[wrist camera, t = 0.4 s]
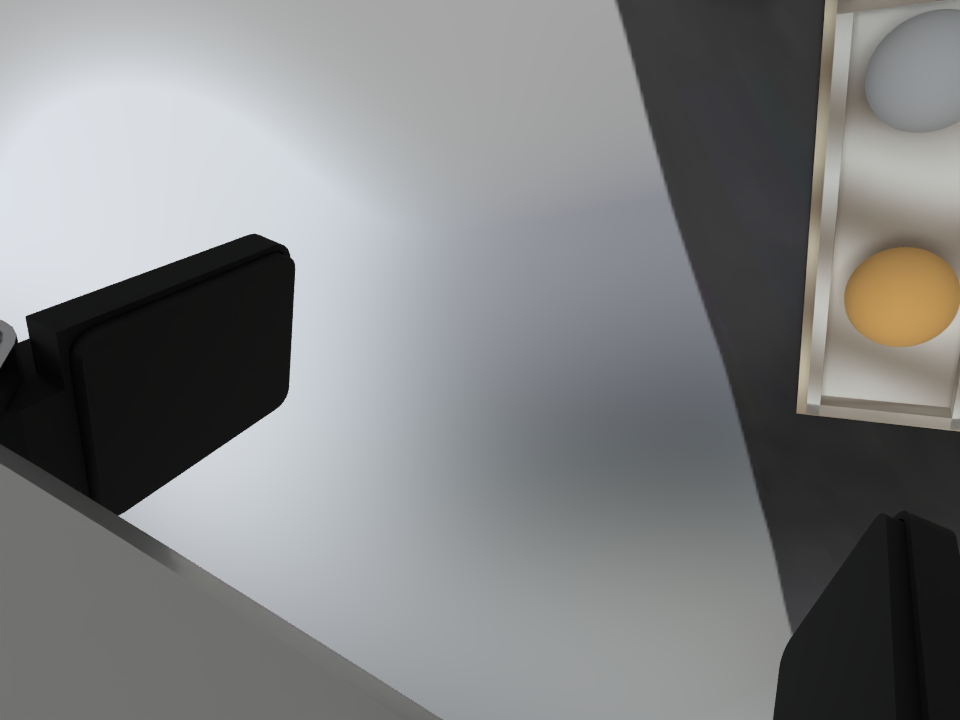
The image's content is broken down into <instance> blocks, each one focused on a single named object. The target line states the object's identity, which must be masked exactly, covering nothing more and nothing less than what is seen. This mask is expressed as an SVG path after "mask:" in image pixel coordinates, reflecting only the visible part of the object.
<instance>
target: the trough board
mask: <svg viewBox="0 0 960 720" xmlns="http://www.w3.org/2000/svg"><path fill="white" fill-rule="evenodd" d="M938 9H957V10H960V0H825V13H824V27H823V42H822V56H821V70H820V85H819V99H818V113H817V128H816V142H815V156H814V170H813V185H812V199H811V213H810V228H809V242H808V256H807V270H806V285H805V299H804V313H803V328H802V342H801V356H800V371H799V385H798V399H797V413H798V414H807V415H816V416H825V417H835V418H844V419H853V420H862V421H871V422H880V423H889V424H898V425H907V426H916V427H926V428H935V429H944V430H953V431H960V306H959V309H958V312H957V314H956V316H955V318H954V320H953V321H952V323H951V324H950V325H949V326H948V327H947V328H946V329H945V330H944V331H943V332H942V333H941V334H939V335H938V336H936V337H935V338H933V339H931V340H929V341H927V342H925V343H922V344H919V345H915V346H909V347H891V346H885V345H881V344H878V343H875V342H873V341H871V340H869V339H868V338H866V337H864V336H863V335H862V334H860V333H859V332H858V331H857V330H856V329H855V328H854V326H853V325H852V323H851V322H850V320H849V318H848V316H847V314H846V311H845V305H844V293H845V289H846V285H847V282H848V280H849V278H850V276H851V275H852V273H853V272H854V271H855V269H856V268H857V267H858V266H859V265H860V264H861V263H862V262H864V261H865V260H866V259H868V258H869V257H871V256H872V255H874V254H876V253H879V252H881V251H884V250H888V249H891V248H898V247H913V248H919V249H923V250H926V251H929V252H931V253H934V254H935V255H937V256H939V257H940V258H942V259H943V260H944V261H946V262H947V263H948V264H949V265H950V266H951V268H952V269H953V271H954V272H955V274H956V276H957V278H958V280H959V283H960V121H959V122H958V123H956V124H953V125H951V126H949V127H946V128H943V129H940V130H936V131H932V132H924V133H913V132H905V131H901V130H898V129H895V128H893V127H891V126H889V125H887V124H885V123H884V122H883V121H882V120H880V119H879V118H878V117H877V116H876V115H875V113H874V112H873V110H872V109H871V107H870V105H869V103H868V101H867V97H866V94H865V75H866V70H867V66H868V63H869V61H870V59H871V56H872V54H873V53H874V51H875V49H876V48H877V46H878V45H879V44H880V42H881V41H882V40H883V39H884V38H885V37H886V36H887V35H888V34H889V33H890V32H891V31H892V30H893V29H894V28H896V27H897V26H898V25H900V24H901V23H903V22H904V21H906V20H908V19H910V18H912V17H914V16H916V15H919V14H921V13H925V12H928V11H932V10H938Z"/></svg>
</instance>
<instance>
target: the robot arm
mask: <svg viewBox="0 0 960 720" xmlns="http://www.w3.org/2000/svg"><path fill="white" fill-rule="evenodd" d="M294 281H295V263H294V261H293V260H292V259H291V258H290V254H289V251H288V249H287V248H286V247H285V246H284V245H281V244H279V243H277V242H274V241H272V240H269V239H267V238H265V237H263V236H260V235H257V234H250V235H247V236H244V237H242V238H239V239H236V240H233V241H231V242H228V243H225V244H222V245H220V246H217V247H214V248H211V249H209V250H206V251H203V252H200V253H198V254H195V255H192V256H190V257H187V258H184V259H181V260H179V261H176V262H173V263H170V264H168V265H165V266H162V267H159V268H157V269H154V270H151V271H149V272H146V273H143V274H141V275H138V276H135V277H132V278H129V279H127V280H124V281H122V282H118V283H116V284H113V285H110V286H107V287H105V288H102V289H99V290H97V291H94V292H91V293H89V294H85V295H83V296H80V297H77V298H75V299H72V300H69V301H66V302H64V303H61V304H58V305H55V306H53V307H50V308H47V309H44V310H42V311H39V312H36V313H33V314H31V315H28V316H26V322H27V327H28V332H29V338H30V339H27V340H25V341H22V342H20V343H18V340H17V336H16V333H15V331H14V329H13V327H12V326H10V325H9V324H7V323H6V322H4V321H2V320H0V720H442V719H441V718H439V717H438V716H436V715H434V714H433V713H431V712H430V711H428V710H427V709H425V708H424V707H422V706H420V705H419V704H417V703H416V702H414V701H412V700H411V699H409V698H408V697H406V696H405V695H403V694H401V693H400V692H398V691H397V690H395V689H393V688H392V687H390V686H389V685H387V684H386V683H384V682H383V681H381V680H379V679H378V678H376V677H375V676H373V675H372V674H370V673H368V672H367V671H365V670H364V669H362V668H360V667H359V666H357V665H356V664H354V663H352V662H351V661H349V660H348V659H346V658H344V657H343V656H341V655H340V654H338V653H337V652H335V651H333V650H332V649H330V648H329V647H327V646H325V645H324V644H322V643H321V642H319V641H317V640H316V639H314V638H312V637H311V636H309V635H308V634H306V633H305V632H303V631H302V630H300V629H298V628H297V627H295V626H294V625H292V624H290V623H288V622H287V621H286V620H284V619H282V618H281V617H279V616H278V615H276V614H274V613H273V612H271V611H270V610H268V609H266V608H265V607H263V606H261V605H260V604H258V603H257V602H255V601H254V600H252V599H251V598H249V597H247V596H246V595H244V594H243V593H241V592H239V591H238V590H236V589H235V588H233V587H231V586H230V585H228V584H226V583H225V582H223V581H222V580H220V579H218V578H217V577H215V576H214V575H212V574H210V573H209V572H207V571H206V570H204V569H202V568H201V567H199V566H198V565H196V564H195V563H193V562H191V561H190V560H188V559H187V558H185V557H183V556H182V555H180V554H179V553H177V552H175V551H174V550H172V549H171V548H169V547H167V546H166V545H164V544H163V543H161V542H159V541H158V540H156V539H154V538H153V537H151V536H150V535H148V534H146V533H145V532H143V531H141V530H140V529H138V528H137V527H135V526H133V525H132V524H130V523H128V522H127V521H125V520H124V519H122V518H120V517H119V516H118V515H120V514H122V513H124V512H125V511H127V510H128V509H130V508H131V507H133V506H134V505H136V504H137V503H139V502H140V501H142V500H143V499H145V498H146V497H147V496H149V495H150V494H152V493H153V492H155V491H156V490H158V489H159V488H161V487H162V486H164V485H165V484H167V483H168V482H170V481H171V480H172V479H174V478H175V477H177V476H178V475H180V474H181V473H183V472H184V471H186V470H187V469H189V468H190V467H191V466H193V465H194V464H196V463H197V462H199V461H200V460H202V459H203V458H205V457H206V456H208V455H209V454H211V453H212V452H213V451H215V450H216V449H218V448H219V447H221V446H222V445H224V444H225V443H227V442H228V441H230V440H231V439H232V438H234V437H236V436H237V435H238V434H240V433H241V432H243V431H244V430H246V429H247V428H249V427H250V426H252V425H253V424H255V423H256V422H258V421H259V420H260V419H262V418H263V417H265V416H266V415H268V414H269V413H271V412H272V411H274V410H275V409H276V408H278V407H279V406H280V405H281V404H282V403H283V402H284V400H285V398H286V396H287V394H288V390H289V375H290V357H291V338H292V319H293V299H294ZM773 720H960V555H959V549H958V544H957V539H956V536H955V533H954V532H953V531H952V530H950V529H947V528H945V527H943V526H940V525H938V524H936V523H933V522H931V521H929V520H926V519H924V518H922V517H919V516H917V515H915V514H912V513H910V512H908V511H901V512H899V513H898V514H897V515H896V516H895V517H894V518H893V517H891V516H888V515H886V514H884V513H882V514H880V515H878V516H877V517H876V518H875V519H874V521H873V522H872V523H871V525H870V526H869V528H868V529H867V531H866V532H865V533H864V535H863V536H862V538H861V539H860V541H859V542H858V543H857V545H856V546H855V548H854V549H853V550H852V552H851V553H850V555H849V556H848V558H847V559H846V560H845V562H844V563H843V565H842V566H841V568H840V569H839V570H838V572H837V573H836V575H835V576H834V577H833V579H832V580H831V582H830V583H829V585H828V586H827V587H826V589H825V590H824V592H823V593H822V595H821V596H820V597H819V599H818V600H817V602H816V603H815V604H814V606H813V607H812V609H811V610H810V612H809V613H808V614H807V616H806V617H805V619H804V620H803V622H802V623H801V624H800V626H799V627H798V629H797V630H796V632H795V633H794V634H793V636H792V637H791V639H790V640H789V642H788V644H787V646H786V648H785V650H784V653H783V655H782V659H781V662H780V668H779V676H778V684H777V692H776V700H775V708H774V717H773Z"/></svg>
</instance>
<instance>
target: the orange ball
mask: <svg viewBox="0 0 960 720" xmlns="http://www.w3.org/2000/svg"><path fill="white" fill-rule="evenodd" d="M844 305H845V311H846V314H847V316H848V318H849V320H850V322H851V323H852V325H853V326H854V328H855V329H856V330H857V331H858V332H859V333H860V334H862V335H863V336H864V337H866V338H868V339H869V340H871V341H873V342H875V343H878V344H881V345H885V346H891V347H909V346H915V345H919V344H922V343H925V342H927V341H929V340H931V339H933V338H935V337H936V336H938V335H939V334H941V333H942V332H943V331H944V330H945V329H946V328H947V327H948V326H949V325H950V324H951V323H952V321H953V320H954V318H955V316H956V314H957V312H958V309H959V306H960V283H959V280H958V278H957V276H956V274H955V272H954V271H953V269H952V268H951V266H950V265H949V264H948V263H947V262H946V261H944V260H943V259H942V258H940V257H939V256H937V255H935V254H934V253H931V252H929V251H926V250H923V249H919V248H913V247H898V248H891V249H888V250H884V251H881V252H879V253H876V254H874V255H872V256H871V257H869V258H868V259H866V260H865V261H864V262H862V263H861V264H860V265H859V266H858V267H857V268H856V269H855V271H854V272H853V273H852V275H851V276H850V278H849V280H848V282H847V285H846V289H845V293H844Z"/></svg>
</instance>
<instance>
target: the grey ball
mask: <svg viewBox="0 0 960 720" xmlns="http://www.w3.org/2000/svg"><path fill="white" fill-rule="evenodd" d="M865 94H866V97H867V101H868V103H869V105H870V107H871V109H872V110H873V112H874V113H875V115H876V116H877V117H878V118H879V119H880V120H882V121H883V122H884V123H885V124H887V125H889V126H891V127H893V128H895V129H898V130H901V131H905V132H913V133H924V132H932V131H936V130H940V129H943V128H946V127H949V126H951V125H953V124H956V123H958V122H959V121H960V10H957V9H938V10H932V11H928V12H925V13H921V14H919V15H916V16H914V17H912V18H910V19H908V20H906V21H904V22H903V23H901V24H900V25H898V26H897V27H896V28H894V29H893V30H892V31H891V32H890V33H889V34H888V35H887V36H886V37H885V38H884V39H883V40H882V41H881V42H880V44H879V45H878V46H877V48H876V49H875V51H874V53H873V54H872V56H871V59H870V61H869V63H868V66H867V70H866V75H865Z"/></svg>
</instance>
